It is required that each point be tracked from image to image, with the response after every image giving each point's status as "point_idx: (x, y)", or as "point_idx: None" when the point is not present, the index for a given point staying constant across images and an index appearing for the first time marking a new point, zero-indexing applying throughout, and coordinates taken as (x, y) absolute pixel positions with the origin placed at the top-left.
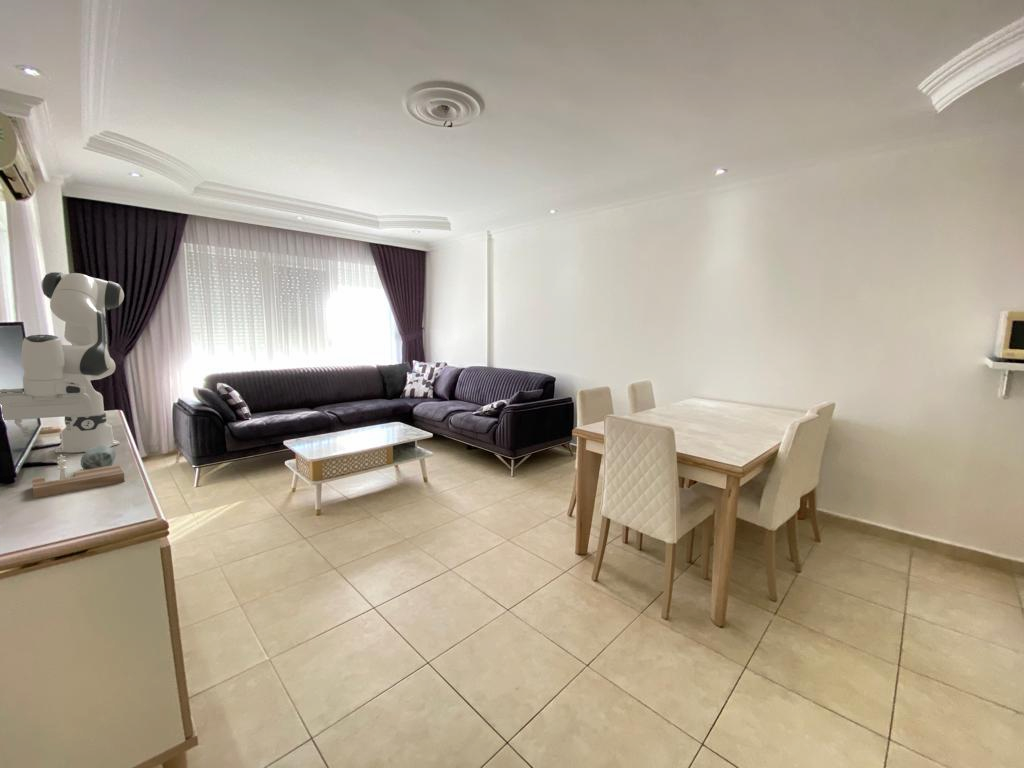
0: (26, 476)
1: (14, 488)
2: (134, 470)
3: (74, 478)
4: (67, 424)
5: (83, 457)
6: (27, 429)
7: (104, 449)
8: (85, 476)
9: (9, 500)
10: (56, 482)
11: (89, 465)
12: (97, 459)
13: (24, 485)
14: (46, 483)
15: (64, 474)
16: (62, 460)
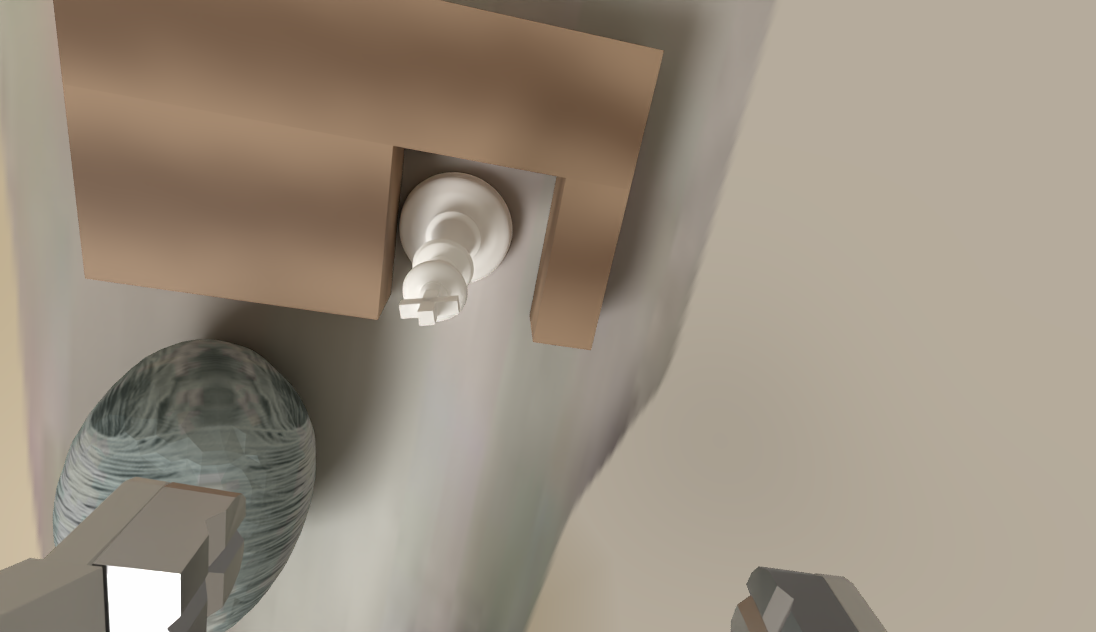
0: (547, 565)
1: (642, 382)
2: (29, 234)
3: (404, 101)
4: (155, 611)
5: (275, 482)
6: (801, 623)
7: (98, 496)
8: (332, 89)
9: (732, 138)
10: (518, 89)
11: (269, 381)
12: (194, 383)
13: (597, 404)
14: (569, 125)
15: (441, 237)
16: (430, 280)
